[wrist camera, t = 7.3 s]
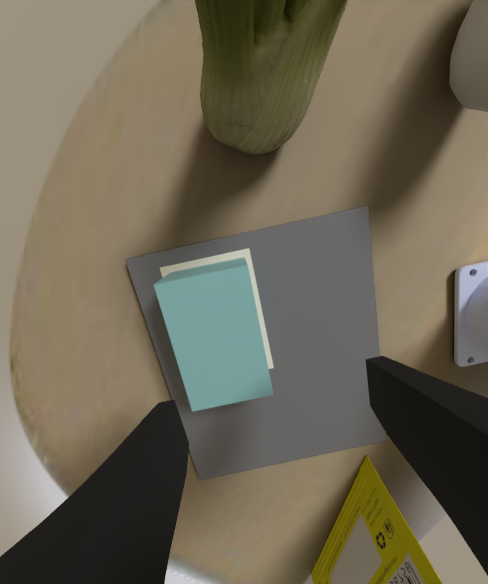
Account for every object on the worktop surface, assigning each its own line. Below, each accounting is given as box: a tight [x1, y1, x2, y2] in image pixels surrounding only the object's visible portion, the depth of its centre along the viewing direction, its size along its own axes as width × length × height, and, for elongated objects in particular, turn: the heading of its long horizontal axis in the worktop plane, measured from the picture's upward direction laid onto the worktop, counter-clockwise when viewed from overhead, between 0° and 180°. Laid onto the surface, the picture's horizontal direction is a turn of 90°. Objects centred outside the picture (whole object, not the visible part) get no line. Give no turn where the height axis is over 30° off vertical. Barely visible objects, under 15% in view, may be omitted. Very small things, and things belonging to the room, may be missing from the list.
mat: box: [125, 206, 387, 480], centre depth 19 cm, size 16×19×1 cm
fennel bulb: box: [195, 0, 348, 155], centre depth 9 cm, size 6×5×12 cm
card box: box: [154, 257, 274, 412], centre depth 16 cm, size 8×5×4 cm, turn 12°
